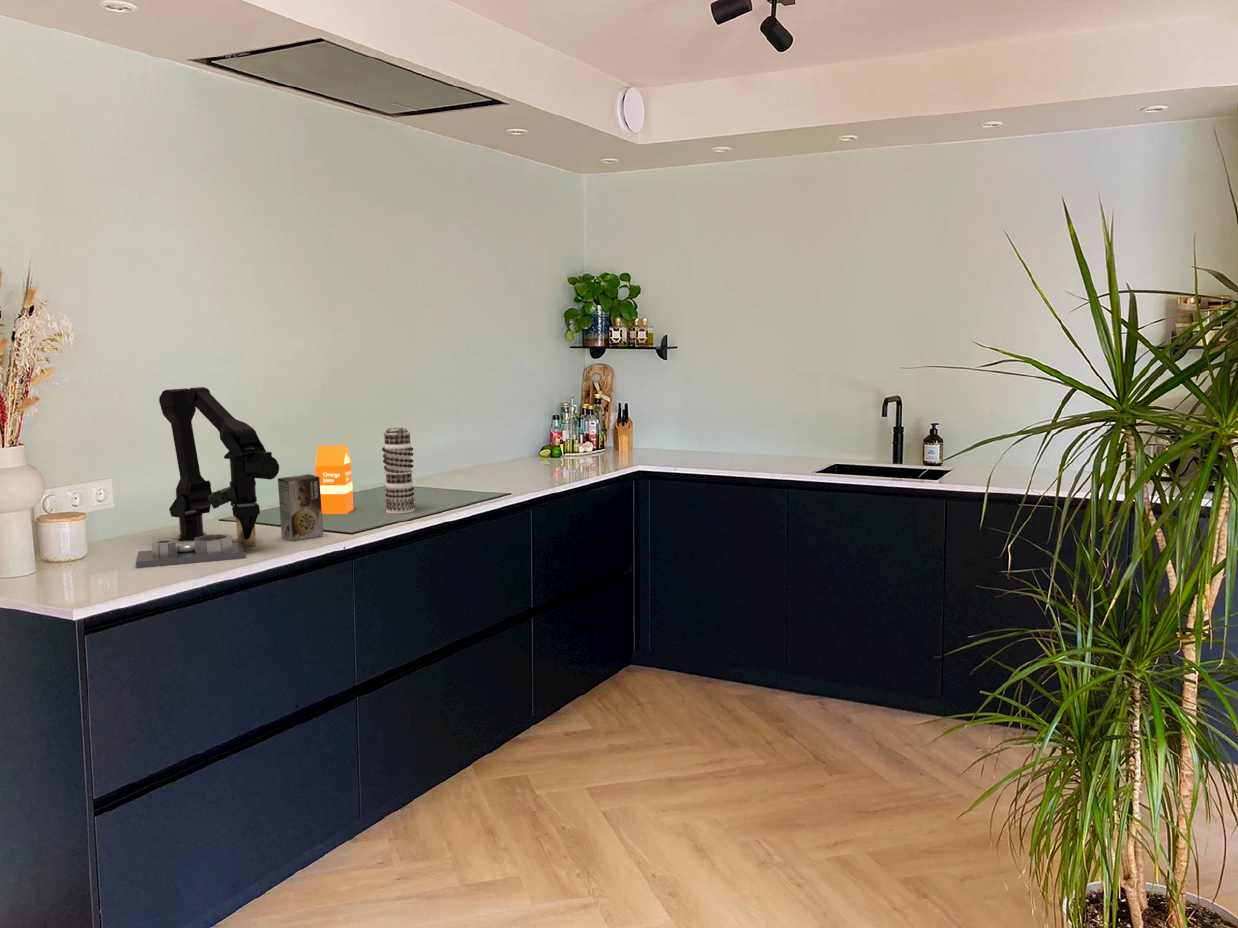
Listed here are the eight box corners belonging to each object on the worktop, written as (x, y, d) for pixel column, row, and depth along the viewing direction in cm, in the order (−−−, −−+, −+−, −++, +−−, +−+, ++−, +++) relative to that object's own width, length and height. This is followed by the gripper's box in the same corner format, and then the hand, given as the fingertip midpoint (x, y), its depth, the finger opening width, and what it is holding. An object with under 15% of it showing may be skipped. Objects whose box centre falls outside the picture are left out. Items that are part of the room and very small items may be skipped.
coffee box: (312, 532, 276) (309, 473, 273) (324, 536, 271) (320, 476, 269) (280, 537, 269) (276, 477, 267) (291, 541, 265) (288, 480, 262)
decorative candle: (404, 514, 301) (401, 430, 297) (378, 512, 304) (374, 429, 301) (422, 509, 309) (418, 427, 306) (396, 507, 313) (393, 426, 309)
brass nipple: (237, 544, 261) (235, 513, 260) (255, 542, 263) (253, 512, 262) (238, 547, 257) (236, 516, 256) (256, 546, 259) (254, 515, 258)
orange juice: (346, 513, 303) (343, 447, 300) (316, 514, 303) (313, 447, 301) (353, 509, 311) (350, 444, 308) (325, 509, 311) (321, 444, 308)
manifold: (138, 557, 248) (137, 539, 247) (243, 548, 257) (242, 530, 256) (136, 567, 237) (135, 549, 236) (245, 557, 246) (244, 539, 246)
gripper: (208, 474, 263) (212, 533, 265) (209, 484, 246) (213, 547, 248) (253, 471, 268) (257, 529, 270) (258, 481, 250) (261, 543, 253)
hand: (246, 537), depth 260 cm, fingers closed on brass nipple, 4 cm apart
